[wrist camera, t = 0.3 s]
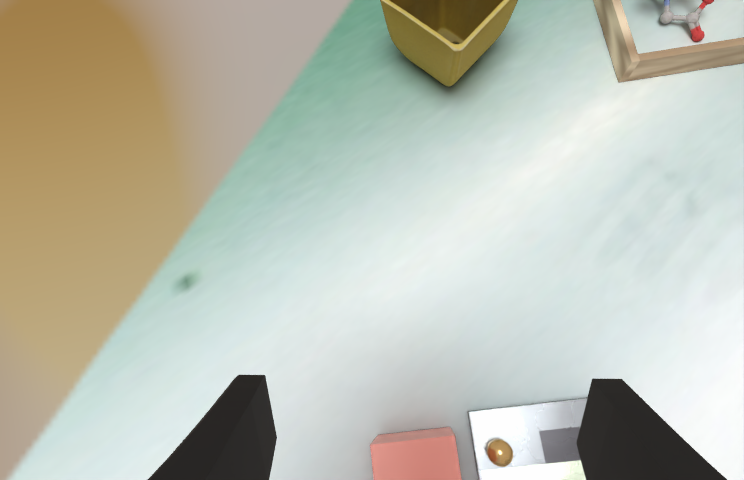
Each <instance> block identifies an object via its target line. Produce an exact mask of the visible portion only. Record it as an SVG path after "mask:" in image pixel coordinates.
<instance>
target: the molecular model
mask: <svg viewBox="0 0 744 480" xmlns="http://www.w3.org/2000/svg"><path fill="white" fill-rule="evenodd" d="M702 1H703V3H702V4H701V5H700V6H699V7H698V9H697V10H696V11H695V12H691V13H689V14H688V15H687V16H681V15H673V13H672V12H670V11H669V8H670V0H664V13H663V14H662V15H661V17H660V21H661V22H662V23H665V24H667V23H670V22H671V21H672V20H679V21H685V22H686V23H687V24H688V25H689V28H690V31H691V34H692V39H693V41H700V40H702V39H703V38H704V32H703V31H701V28H700V25H699V22H698V20H699V13H700V12H701V11H702V10H703V8H704V7H705V6H706V5H707V4H711V3H712V2H713V1H714V0H702Z"/></svg>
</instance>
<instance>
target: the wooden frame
mask: <svg viewBox="0 0 744 480" xmlns="http://www.w3.org/2000/svg"><path fill="white" fill-rule="evenodd" d="M593 1H594V4H595V7H596V10H597V14H598V17H599V20H600V24H601V27H602V30H603V33H604V37H605V40H606V43H607V46H608V50H609V53H610V56H611V59H612V63H613V66H614V69H615V73H616V76H617V79H618V82H624V81H631V80H637V79H644V78H650V77H657V76H663V75H669V74H676V73H682V72H689V71H695V70H702V69H708V68H715V67H721V66H727V65H734V64H740V63H744V37H743V38H737V39H731V40H724V41H718V42H712V43H706V44H699V45H693V46H687V47H680V48H674V49H668V50H661V51H655V52H649V53H642V54H638V53H637V50H636V47H635V44H634V41H633V38H632V35H631V32H630V29H629V26H628V23H627V19H626V16H625V13H624V10H623V7H622V4H621V1H620V0H593Z"/></svg>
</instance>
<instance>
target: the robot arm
mask: <svg viewBox="0 0 744 480" xmlns="http://www.w3.org/2000/svg"><path fill="white" fill-rule="evenodd" d="M276 439H277V436H276V431H275V426H274V420H273V415H272V410H271V404H270V399H269V394H268V388H267V383H266V378H265V375H238V376H237V377H236V378H235V379H234V380H233V381H232V382H231V384H230V385H229V386H228V387H227V389H226V390H225V391H224V392H223V394H222V395H221V396H220V397H219V399H218V400H217V401H216V402H215V404H214V405H213V406H212V407H211V408H210V410H209V411H208V412H207V413H206V415H205V416H204V417H203V418H202V419H201V421H200V422H199V423H198V424H197V425H196V427H195V428H194V429H193V430H192V431H191V432H190V433H189V435H188V436H187V437H186V438H185V439H184V440H183V442H182V443H181V444H180V445H179V446H178V447H177V448H176V450H175V451H174V452H173V453H172V454H171V455H170V456H169V458H168V459H167V460H166V461H165V462H164V463H163V464H162V465H161V466H160V467H159V468H158V469H157V470H156V471H155V473H154V474H153V475H152V476H151V477H150V478H149V479H148V480H269V477H270V472H271V467H272V461H273V456H274V450H275V444H276ZM576 444H577V448H578V452H579V455H580V459H581V463H582V467H583V471H584V474H585V478H586V480H727V479H726V478H725V477H723V476H722V475H721V474H720V473H719V472H718V471H717V470H716V469H715V468H714V467H712V466H711V465H710V464H709V463H708V462H707V461H706V460H705V459H704V458H703V457H702V456H701V455H699V454H698V453H697V452H696V451H695V450H694V449H693V448H692V447H691V446H690V445H689V444H688V443H687V442H686V441H685V440H684V439H683V438H681V437H680V436H679V435H678V434H677V433H676V432H675V431H674V430H673V429H672V428H671V427H670V426H669V425H668V424H667V423H666V422H665V421H664V420H663V419H662V418H661V417H660V416H659V415H658V414H657V413H656V412H655V411H654V410H653V409H652V408H651V407H650V406H649V405H648V404H647V403H646V402H645V401H644V400H643V399H642V398H640V397H639V396H638V395H637V394H636V393H635V392H634V391H633V390H632V389H631V388H630V387H629V386H628V385H627V384H626V383H625V382H624V381H623V380H622V379H592V382H591V386H590V390H589V394H588V398H587V402H586V406H585V410H584V414H583V418H582V422H581V426H580V430H579V434H578V438H577V442H576Z"/></svg>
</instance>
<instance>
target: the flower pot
mask: <svg viewBox="0 0 744 480" xmlns="http://www.w3.org/2000/svg"><path fill="white" fill-rule="evenodd" d="M380 1H381V5H382V9H383V12H384V16H385V20H386V24H387V27H388V31H389V34H390V36H391V39H392V41H393V42H394V44H395V45H396V47H397V48H398V49H399V50H400V51H401V53H402V54H403V55H405V56H406V57H407V58H408V59H409V60H410V61H411V62H413V63H414V64H416V65H417V66H419V67H420V68H421V69H423V70H424V71H426V72H427V73H428V74H430V75H431V76H433V77H434V78H435V79H437V80H438V81H439V82H441V83H442V84H444V85H445V86H452V85H454V84H455V83H456V82H457V81H458V80H459V79H460V77H461V76H462V75H463V74H464V73H465V72H466V71H467V70H468V69H469V68H470V67H471V66H472V65H473V64H474V63H475V62H476V61H477V60H478V59H479V57H480V56H481V55H482V54H483V53H484V52H485V51H486V50H487V49H488V48H489V47H490V46H491V45H492V44H493V43H494V42H495V41H496V40H497V38H498V37H499V36H500V35H501V33H502V32H503V30H504V29H505V27H506V25H507V24H508V21H509V19H510V17H511V15H512V13H513V10H514V8H515V6H516V4H517V1H518V0H380ZM454 43H457V44H454Z"/></svg>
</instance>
